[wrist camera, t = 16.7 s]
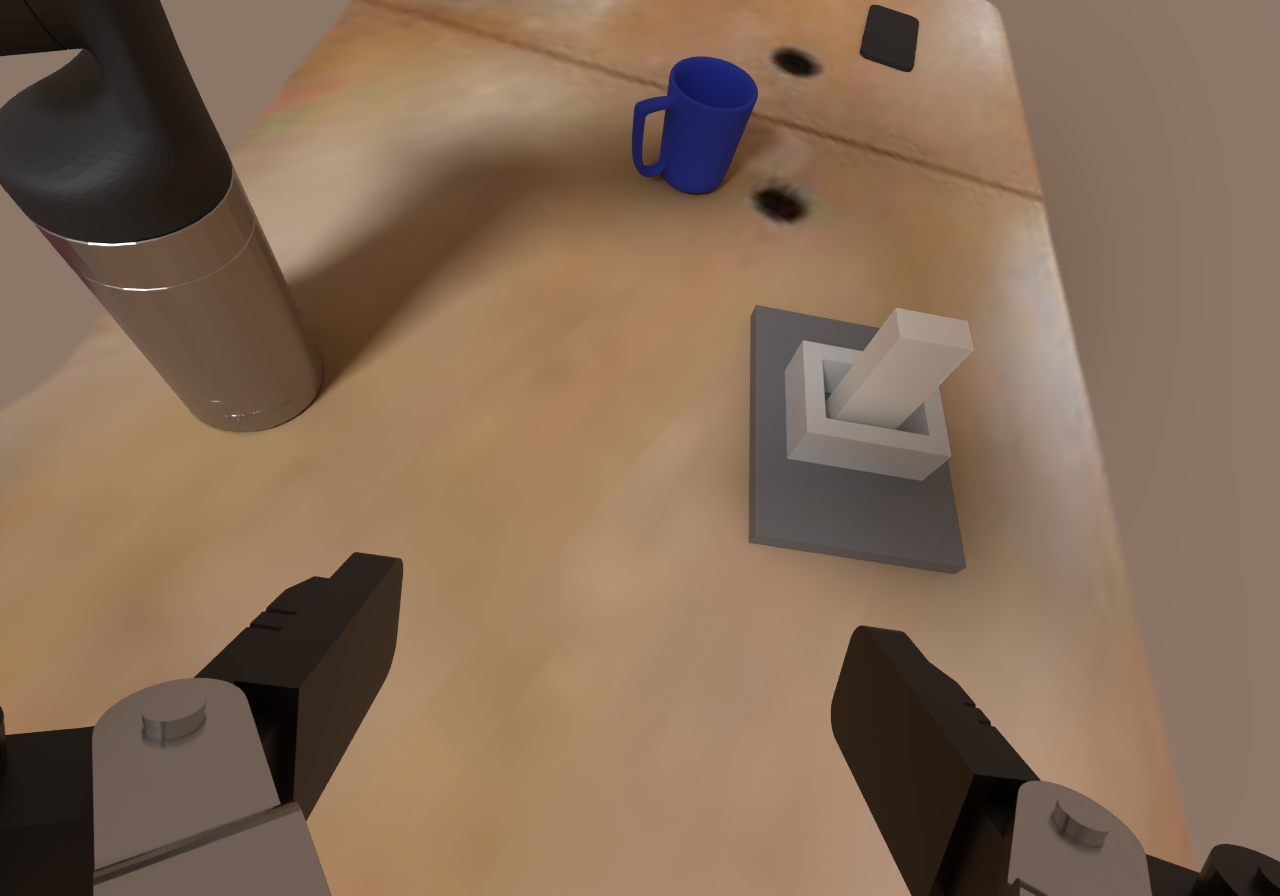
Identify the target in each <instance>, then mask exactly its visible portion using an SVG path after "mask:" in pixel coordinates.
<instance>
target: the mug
mask: <svg viewBox="0 0 1280 896" xmlns="http://www.w3.org/2000/svg"><path fill="white" fill-rule="evenodd" d="M757 97H758V89H757V86H756V84H755V82H754V80H753V79H752V78H751V77H750V76H749V75H748V74H747V73H746V72H745V71H744V70H742V69H741V68H739V67H737V66H736V65H734V64H732V63H729V62H727V61H724V60H721V59H717V58H711V57H691V58H687V59H684V60H681V61H680V62H678V63H677V64H676V65H674V67H673V68H672V70H671V72H670V77H669V86H668V94H667V96H662V97H655V98H650V99H646V100H643V101H640V102H638V103H636V105H635V109H634V119H633V132H632V155H633V161H634V165H635V167H636V169H637V170H638V171H639V173H640V174H642V175H643V176H646V177H652V176H656V175H658V174H659V173H661V172H662V174H663V176H664V178H665V179H666V181H667V182H668V183H669V184H670V185H672V186H673V187H675V188H676V189H678V190H681V191H683V192H686V193H691V194H703V193H707V192H710V191H712V190H714V189H715V188H717V187H718V186H719V185H720V183H721V182H722V181H723V179H724V177H725V175H726V173H727V170H728V168H729V165H730V163H731V161H732V158H733V156H734V153H735V151H736V149H737V146H738V144H739V141H740V139H741V136H742V134H743V132H744V129H745V127H746V124H747V122H748V120H749V117H750V115H751V112H752V110H753V107H754V105H755V103H756V100H757ZM665 109H666V110H665ZM660 110H665V118H664V126H663V135H662V143H661V151H660V160H659V161H658V162H657V163H656V164H654V165H651V166H644V165H643V162H642V143H643V132H644V124H645V118H646V116H647V115H648V114H650V113H653V112H656V111H660Z"/></svg>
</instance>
